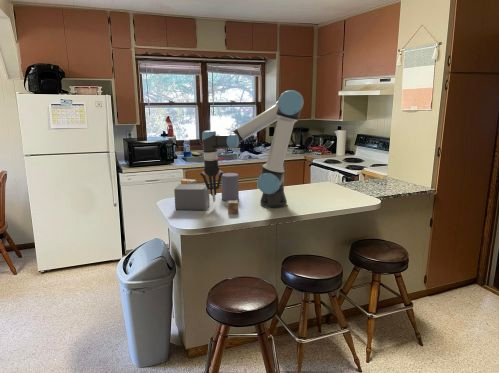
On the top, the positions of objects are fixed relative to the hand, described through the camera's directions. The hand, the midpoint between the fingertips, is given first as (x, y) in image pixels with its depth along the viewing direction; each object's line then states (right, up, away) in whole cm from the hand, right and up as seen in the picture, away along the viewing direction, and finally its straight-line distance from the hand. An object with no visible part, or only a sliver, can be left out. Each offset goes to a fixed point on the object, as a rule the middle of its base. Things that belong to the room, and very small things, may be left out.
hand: (214, 200), depth 211 cm
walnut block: (+11, -6, -8) cm, 15 cm away
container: (+8, 0, +19) cm, 21 cm away
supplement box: (-16, -1, +14) cm, 21 cm away
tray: (-11, -3, +1) cm, 12 cm away
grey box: (-13, -4, +1) cm, 13 cm away
